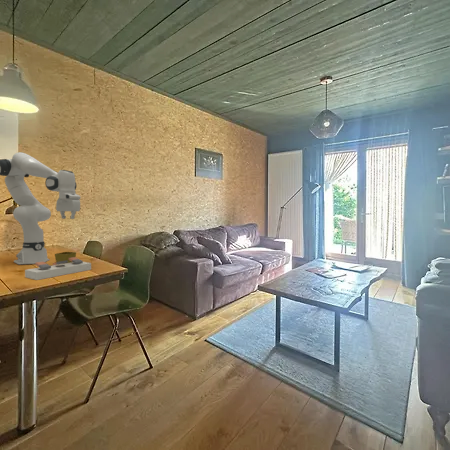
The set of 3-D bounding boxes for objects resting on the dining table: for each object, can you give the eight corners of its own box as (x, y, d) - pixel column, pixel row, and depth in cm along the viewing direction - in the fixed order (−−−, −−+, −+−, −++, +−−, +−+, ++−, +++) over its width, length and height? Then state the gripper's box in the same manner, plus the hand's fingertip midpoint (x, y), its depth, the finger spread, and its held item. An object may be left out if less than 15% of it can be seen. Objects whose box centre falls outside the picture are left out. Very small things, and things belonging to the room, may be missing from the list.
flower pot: (66, 268, 165) (66, 254, 164) (54, 267, 166) (54, 253, 166) (76, 265, 173) (76, 252, 173) (65, 265, 175) (65, 251, 175)
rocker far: (68, 259, 159) (68, 257, 159) (75, 258, 163) (75, 257, 163) (76, 264, 155) (76, 262, 155) (82, 262, 159) (82, 261, 159)
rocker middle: (52, 265, 151) (52, 263, 151) (60, 264, 155) (59, 262, 155) (60, 263, 147) (60, 261, 148) (67, 262, 151) (67, 260, 151)
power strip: (25, 277, 141) (24, 269, 141) (84, 266, 170) (84, 259, 170) (36, 280, 135) (36, 271, 135) (96, 268, 165) (96, 261, 164)
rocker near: (35, 264, 144) (35, 262, 143) (43, 263, 147) (43, 261, 147) (42, 269, 140) (42, 267, 140) (50, 268, 143) (50, 266, 143)
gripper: (52, 196, 165) (53, 218, 166) (71, 195, 155) (72, 219, 156) (63, 197, 171) (63, 218, 171) (82, 196, 160) (82, 219, 161)
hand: (68, 218), depth 163 cm, fingers open, 8 cm apart
